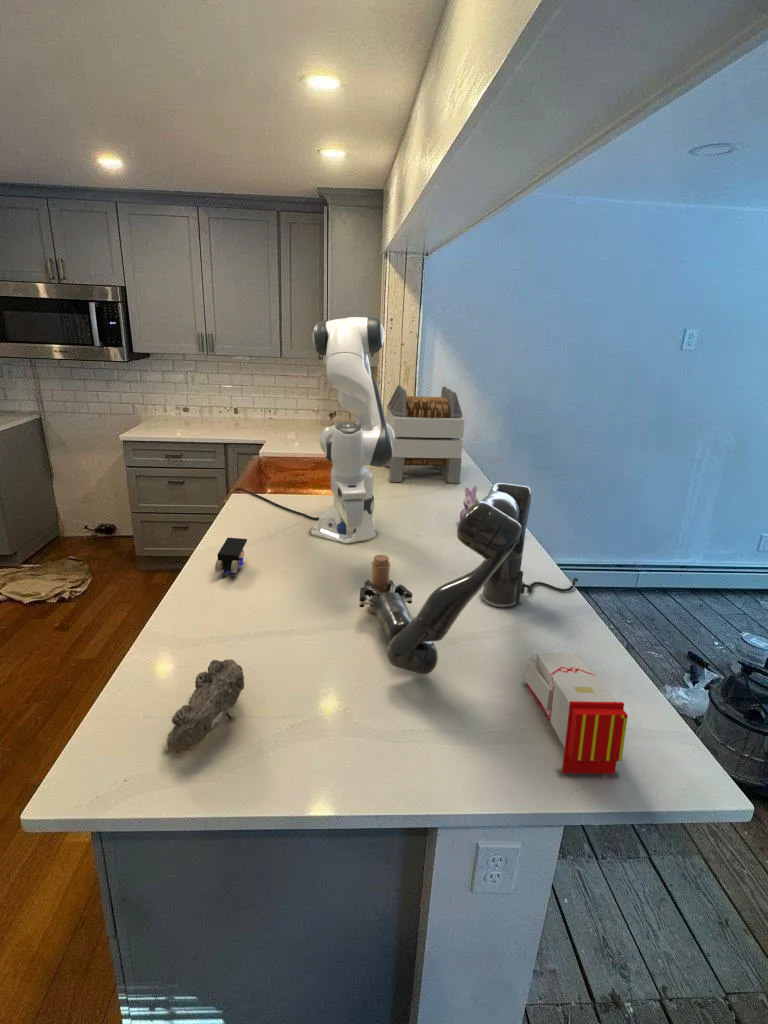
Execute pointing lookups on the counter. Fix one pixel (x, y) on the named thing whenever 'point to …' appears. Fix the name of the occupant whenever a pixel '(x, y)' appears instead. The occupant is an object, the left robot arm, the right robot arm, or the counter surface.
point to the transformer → (426, 433)
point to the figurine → (469, 500)
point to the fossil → (206, 705)
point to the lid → (343, 528)
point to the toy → (578, 711)
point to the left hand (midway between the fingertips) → (346, 532)
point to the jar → (380, 574)
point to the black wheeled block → (230, 556)
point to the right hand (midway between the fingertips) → (377, 582)
